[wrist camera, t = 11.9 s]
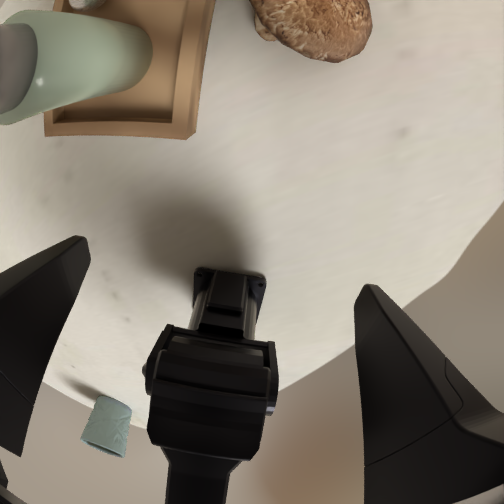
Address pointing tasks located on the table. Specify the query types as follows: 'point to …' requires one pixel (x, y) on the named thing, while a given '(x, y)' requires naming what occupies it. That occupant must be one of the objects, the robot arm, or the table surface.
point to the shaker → (66, 60)
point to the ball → (85, 4)
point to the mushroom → (315, 26)
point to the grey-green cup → (108, 426)
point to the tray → (147, 74)
